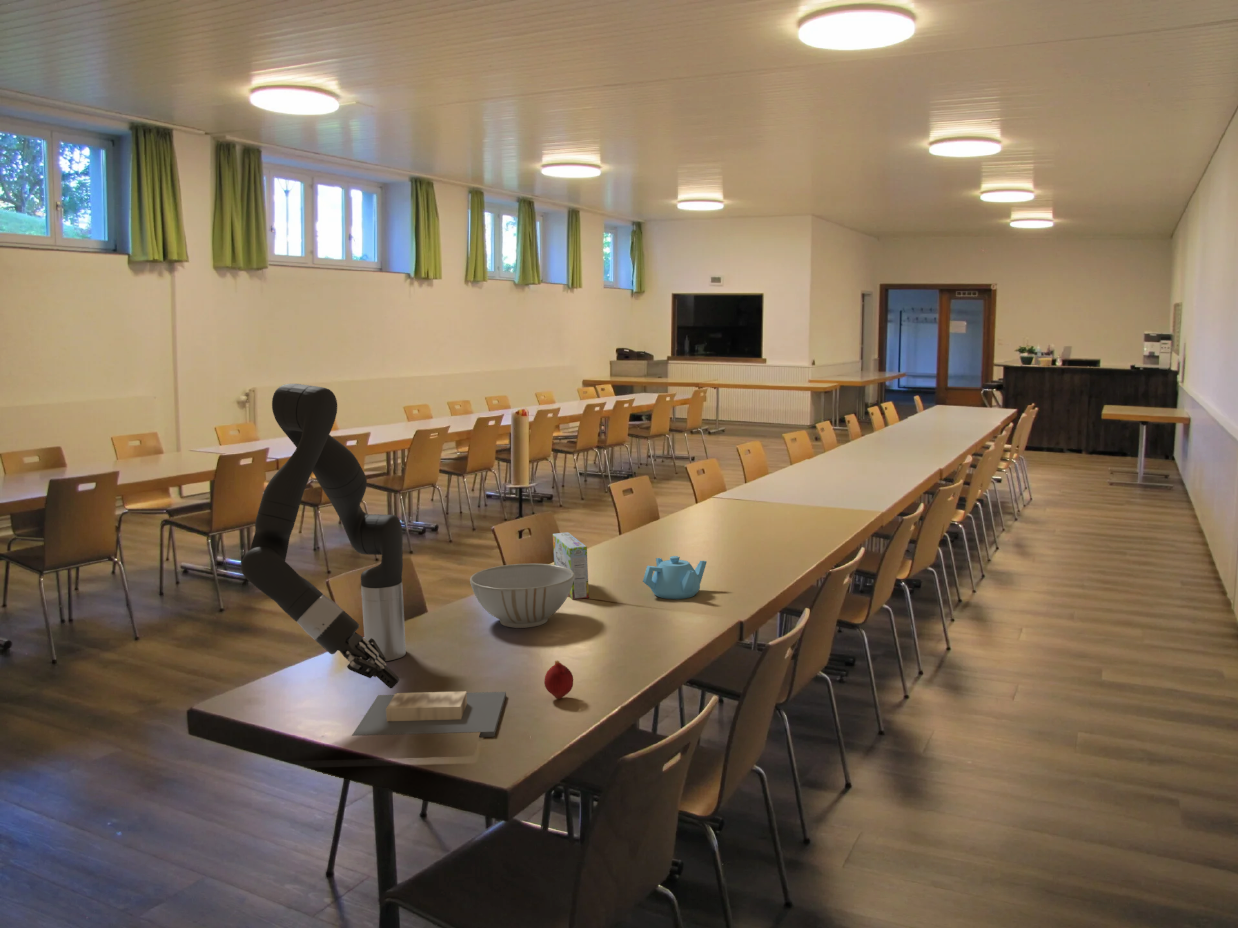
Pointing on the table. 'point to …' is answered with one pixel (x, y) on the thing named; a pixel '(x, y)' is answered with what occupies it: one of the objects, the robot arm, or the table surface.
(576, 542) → the snack box
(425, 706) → the wooden block
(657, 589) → the teapot
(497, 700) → the mat
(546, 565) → the decorative bowl
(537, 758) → the table surface
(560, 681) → the onion
